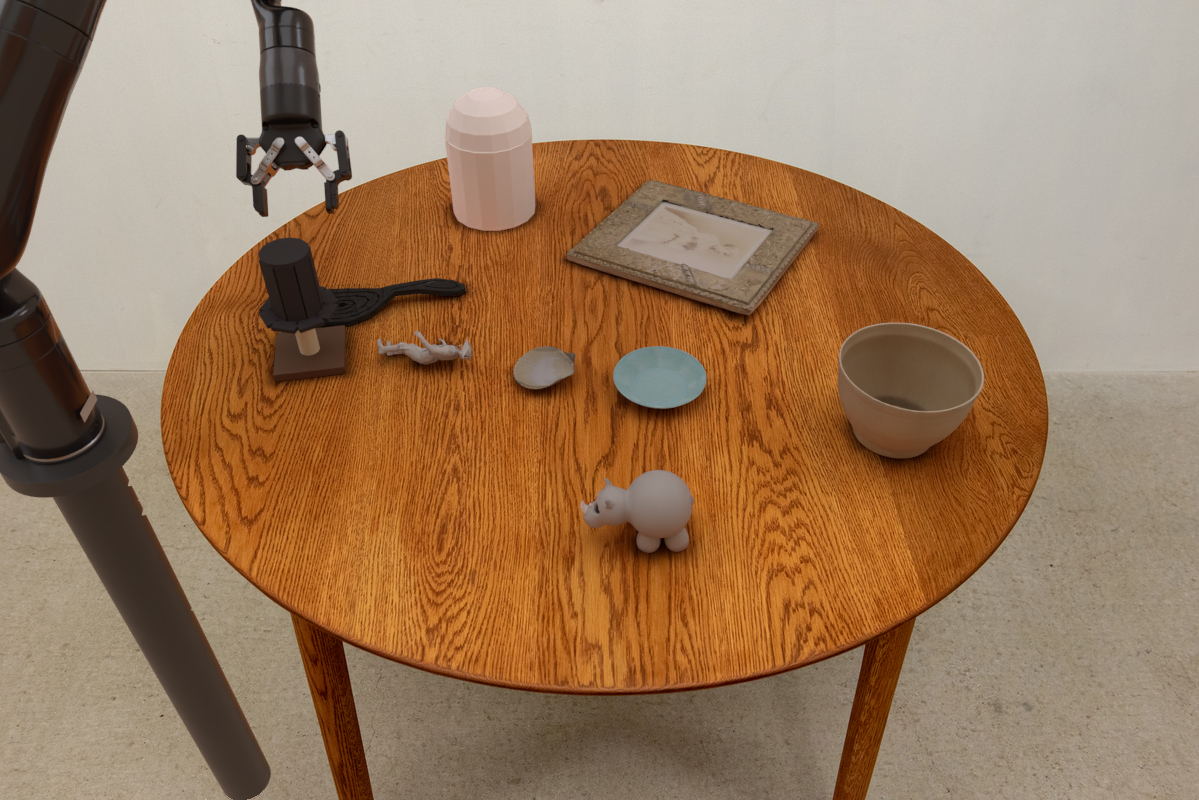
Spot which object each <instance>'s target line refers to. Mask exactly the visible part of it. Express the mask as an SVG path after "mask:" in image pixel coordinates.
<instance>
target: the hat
mask: <svg viewBox="0 0 1199 800" xmlns="http://www.w3.org/2000/svg"><path fill="white" fill-rule="evenodd" d="M258 264H259V267H260V272H261V275H262V278H263V281H264V284H265V288H266V291H267V294H268V297H267V299H266V300H265V301H264V302H263V304H262V305H261V306H260V307H259V309H258V311H259V312H258V316H259V317H260V319H261V320H262V322H263V324H264V325H265V327H266V329H268V330H269V329H270V331H271V332H276V333H280V332H284V333H291V334H296V332H297V331H298V330H299V332H300V333H303V332H306V331H309V330H311V329H314V328H321V327H320V326H323V325H325V323H324V322H329V321H330V320H331V318H332V317H333V315H334V314H335V312H336V311H337V309H338V308H339V306H338V305H339V302H338V300H337V299H336V297H335V296H334V295H333V293H332V292H331V291H330V289H331V288H326V286H322V285H320V281H319V277H318V273H317V269H316V264H315V260H314V257H313V252H312V248H311V246H310V245H309V243H308V242H307V241H305V240H304V239H301V238H298V237H282V238H281V237H280V238H277V239H274V240H271V241H269V242H267V243H265V244H264V245H263V246H261V248H260V249H259V251H258ZM321 286H322V287H321ZM326 289H327V290H326Z"/></svg>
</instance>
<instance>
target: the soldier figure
mask: <svg viewBox="0 0 1199 800" xmlns="http://www.w3.org/2000/svg"><path fill="white" fill-rule="evenodd" d="M413 335H414V336H416V337H417V338H418V339H419V341H420V343H421V344H422V346H424V347H423V348H422V347H420V346H418V345H416V344H415V343H407V342H404V341H401V342H398V343H396V344H392V342H391V341H390V340H387V342H386V345H383V341H382V339H380V338H378V339H377V340H376V345H377V347H378V350H377V351H378V355H379V356H381V355H384V354H386V355H387V357H391V356H393V355H394V356H395V355H403V354H404V355H405V356H407V357H409V358H410V359H411V360H412V361H414V362H416V363H418V364H421V365H425V366H428V365H431V364H434V363H436V362H437V361H452V360H455V359H457V358H459V359H461V360H466V359H467V361H468V362H470V361H471V358H472V356H473V348H472V345H471V343H470V341H469V339H468V338H466V339H465V341H464V344H463V345H462V346H461V344H459V345H452V344H448V343H446V341H445V340H444V339H442V338H438V341H440V342H441V344H431V343H430V342H428V341H427V339H425V337H424V335H423V334H422V333H421V332H420V331H419V330H414V333H413ZM459 347H461V350H460V348H459Z"/></svg>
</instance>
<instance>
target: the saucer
mask: <svg viewBox="0 0 1199 800" xmlns="http://www.w3.org/2000/svg"><path fill="white" fill-rule="evenodd" d="M612 378H613V383H614V386H615V387H616V389H617V391H619V393H620V394H621V395H622V397H625V398H626V399H627V400H629V401H631V402H632V403H635V404H636V405H639V406H641V407H645V408H649V409H654V410H655V409H656V410H667V409H673V408H678V407H681V406H684V405H687V404H689V403H690V402H692V401H694V400H695V399H697V398H698V397H700V395H701V394H702V392H703V391H704V390H705V387H706V385H707V372H706V370H705V368H704V366H703V364H702V363H701V362H700V361H699V360H698V359H697V358H696V357H695V356H693V355H692V354H691V353H689V352H687V351H685V350H682V349H680V348H676V347H671V346H662V345H656V346H655V345H654V346H653V345H652V346H645V347H641V348H637V349H634V350H632V351H630V352H628V353H627V354H625V355H624V356H622V357H621V358H620V359H619V360H618V362H617V363H616V364H615V366H614V369H613V374H612Z"/></svg>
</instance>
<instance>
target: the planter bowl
mask: <svg viewBox="0 0 1199 800" xmlns="http://www.w3.org/2000/svg"><path fill="white" fill-rule="evenodd" d="M837 361H838V363H837V364H838V368H837V369H838V370H837V391H838V396H839V401H840V404H841V407H842V409H843V412H844V414H845V416H846V419H847V420H848V422H849V423H850V425H851V428H852V431H853V434H854V436H855V438H856V439H857V441H858V442H859V443H860V444H861V445H862V446H864V447H865V448H866V449H867V450H869V451H871V452H873V453H875V454H877V455H880V456H882V457H886V458H891V459H912V458H915V457H918V456H920V455H922V454H924V453H925V452H927V451H928V450H929V449H930V448H931V447H932V446H934V445H936V444H938V443H940V442H941V441H943V440H945V439H946V438H947V437H949V436H950V435H951V434H952V433H953V432H955V431H956V429H958V427H959V426H961V424H962V423H963V422H964V421H965V419H966V418H967V416H968V415H969V414H970V412H971V409H972V408H973V406H974V404H975V402H976V400H977V399H978V398H979V395H980V394H981V392H982V390H983V387H984V384H985V374H984V369H983V366H982V363H981V362H980V360H979V358H978V357H977V355H976V354H975V353H974V352H973V351H972V350H971V349H970V348H969V347H968V346H967V345H966V344H964V343H963V342H962V341H960V340H959V339H957V338H955V337H953V336H952V335H950V334H948V333H945V332H943V331H941V330H939V329H936V328H933V327H929V326H927V325H922V324H917V323H911V322H910V323H909V322H896V321H895V322H881V323H876V324H871V325H867V326H865V327H862V328H859V329H857V330H855V331H854V332H852V333H851V334H850V335H849V336H847V337H846V339H844V341H843V343H842V345H841V346H840V349H839V352H838V360H837Z"/></svg>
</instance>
